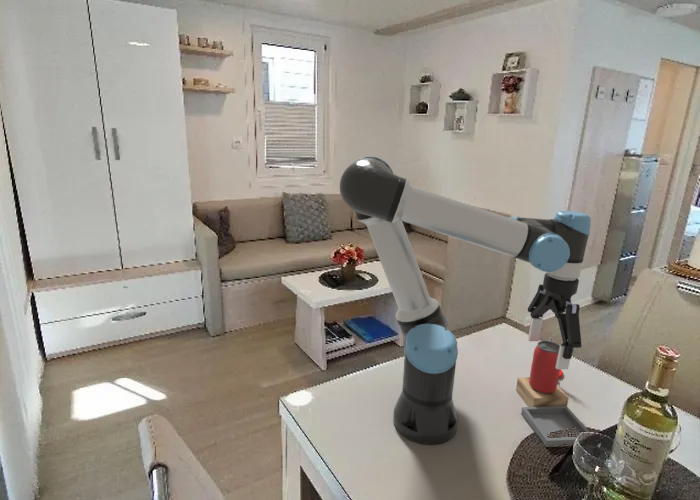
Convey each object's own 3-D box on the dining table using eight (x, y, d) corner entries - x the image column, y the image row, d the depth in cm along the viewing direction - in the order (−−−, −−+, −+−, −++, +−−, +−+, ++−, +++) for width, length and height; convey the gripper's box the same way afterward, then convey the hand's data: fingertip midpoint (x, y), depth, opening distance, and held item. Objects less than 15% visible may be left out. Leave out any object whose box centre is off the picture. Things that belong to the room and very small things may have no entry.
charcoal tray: (545, 448, 93) (546, 440, 93) (521, 414, 104) (522, 407, 104) (594, 446, 94) (596, 438, 94) (565, 412, 105) (566, 405, 105)
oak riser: (532, 411, 105) (534, 398, 104) (515, 390, 114) (517, 377, 113) (566, 410, 106) (568, 397, 105) (547, 389, 115) (549, 376, 113)
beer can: (524, 379, 112) (531, 339, 109) (549, 380, 112) (556, 340, 109) (534, 394, 106) (541, 352, 102) (560, 395, 106) (568, 353, 102)
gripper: (611, 295, 89) (591, 382, 95) (549, 259, 112) (535, 330, 118) (578, 295, 88) (560, 382, 94) (522, 259, 112) (510, 330, 118)
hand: (546, 353), depth 106 cm, fingers open, 13 cm apart
